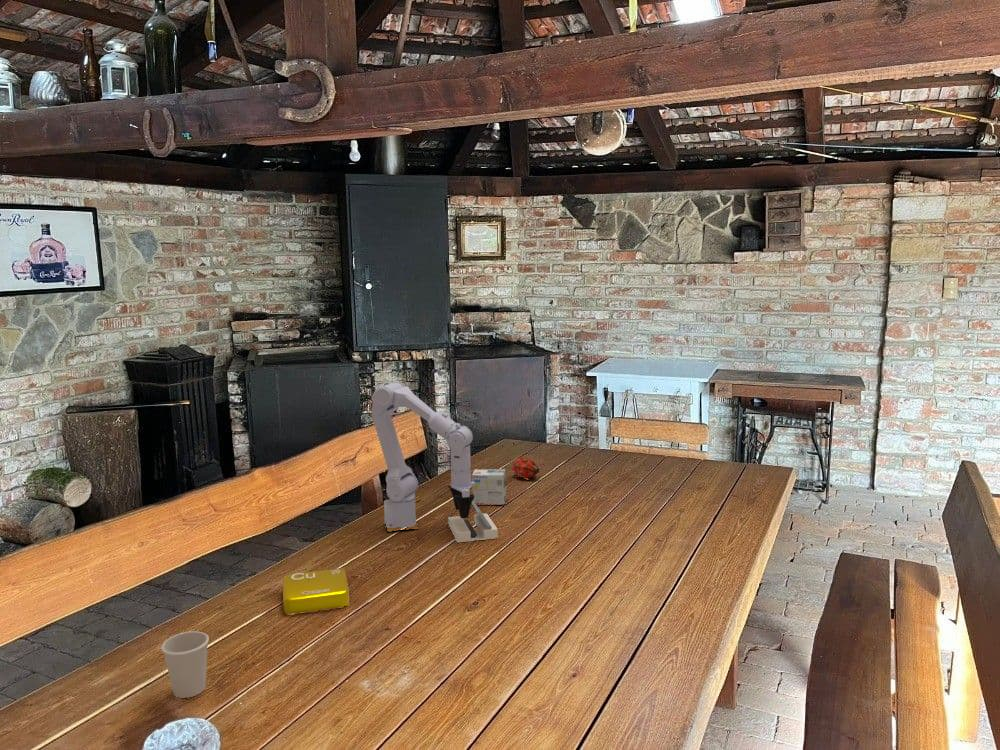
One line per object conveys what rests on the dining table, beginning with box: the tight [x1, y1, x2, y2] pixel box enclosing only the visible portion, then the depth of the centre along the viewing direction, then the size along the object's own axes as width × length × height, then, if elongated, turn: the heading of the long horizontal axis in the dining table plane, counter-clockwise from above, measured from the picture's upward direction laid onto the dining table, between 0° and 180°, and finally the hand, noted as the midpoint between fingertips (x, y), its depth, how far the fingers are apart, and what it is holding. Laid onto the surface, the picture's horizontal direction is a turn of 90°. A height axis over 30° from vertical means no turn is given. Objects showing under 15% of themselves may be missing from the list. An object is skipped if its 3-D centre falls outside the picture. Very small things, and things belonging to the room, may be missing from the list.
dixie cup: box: [160, 630, 210, 699], centre depth 143 cm, size 8×8×10 cm
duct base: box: [447, 513, 499, 542], centre depth 222 cm, size 12×14×3 cm
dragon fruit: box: [510, 456, 540, 479], centre depth 275 cm, size 8×8×12 cm
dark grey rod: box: [463, 519, 477, 538], centre depth 222 cm, size 2×10×2 cm, turn 15°
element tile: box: [282, 567, 350, 614], centre depth 182 cm, size 15×15×5 cm
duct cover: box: [471, 501, 492, 529], centre depth 222 cm, size 6×13×1 cm
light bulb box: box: [471, 468, 507, 505], centre depth 248 cm, size 11×7×11 cm, turn 84°
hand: (461, 513), depth 221 cm, fingers open, 7 cm apart
